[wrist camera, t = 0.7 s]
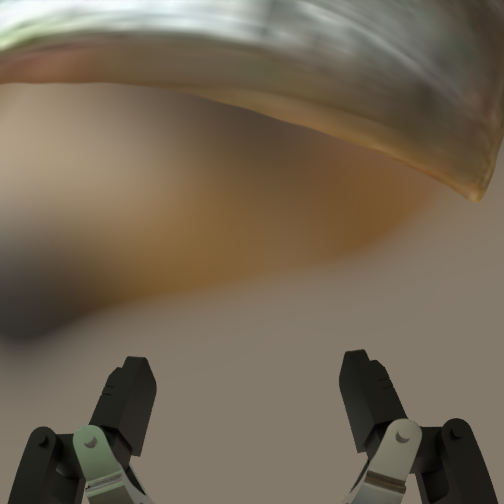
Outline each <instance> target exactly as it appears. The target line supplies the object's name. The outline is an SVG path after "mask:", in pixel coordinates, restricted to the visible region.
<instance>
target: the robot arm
mask: <svg viewBox="0 0 504 504" xmlns="http://www.w3.org/2000/svg"><path fill="white" fill-rule="evenodd" d="M389 378H390V377H389V375H388V373H387V371H386V369H385V367H383V365H381V364H380V363H379V362H378V361H377V360H372V361H370V360H369V358H368V356H367V353H366V352H365V350H364V349H361V350H355V351H347V352H345V355H344V359H343V363H342V367H341V371H340V376H339V387H340V391H341V394H342V398H343V401H344V405H345V408H346V412H347V415H348V419H349V423H350V426H351V430H352V434H353V437H354V441H355V445H356V449H357V452H358V453H361V452H367V456H368V459H367V460H366V462H365V464H364V466H363V468H362V470H361V472H360V473H359V475H358V477H357V479H356V481H355V482H354V484H353V486H352V487H351V489H350V491H349V493H348V494H347V496H346V497H345V498H344V500H343V501H342V503H341V504H400V503H401V501H402V499H403V497H404V494H405V491H406V486H405V482H406V479H407V477H408V474H411V473H413V474H414V473H415V475H416V479H417V483H418V487H419V491H420V496H421V500H422V504H498V501H497V498H496V495H495V491H494V488H493V485H492V482H491V479H490V476H489V473H488V470H487V467H486V465H485V462H484V459H483V457H482V454H481V451H480V449H479V446H478V444H477V441H476V439H475V437H474V435H473V432H472V430H471V427H470V426H469V424H468V423H467V422H466V421H464V420H462V419H458V418H454V419H451V420H448V421H447V422H446V423H445V424H444V425H443V427H421V426H419V425H418V424H417V423H416V422H414V421H412V420H409V419H408V418H407V416H406V414H405V411H404V409H403V407H402V405H401V402H400V400H399V397H398V395H397V393H396V391H395V388H393V384H392V382H391V380H390V379H389ZM156 387H157V386H156V381H155V378H154V376H153V373H152V371H151V369H150V366H149V363H148V361H147V359H146V358H145V357H133V356H128V357H127V358H126V360H125V363H124V365H123V367H122V368H120V367H117V368H116V369H115V370H114V371H113V372H112V373H111V374H110V375H109V377H108V379H107V382H106V384H105V387H104V389H103V391H102V395H101V396H100V398H99V401H98V403H97V405H96V408H95V410H94V413H93V415H92V418H91V420H90V423H89V424H88V425H86V426H83V427H81V428H79V429H78V430H77V431H76V432H75V434H55V433H54V432H53V430H51V429H50V428H48V427H38V428H37V429H35V430H34V431H33V432H32V433H31V435H30V437H29V440H28V442H27V445H26V448H25V450H24V453H23V456H22V459H21V461H20V465H19V467H18V470H17V473H16V477H15V480H14V483H13V486H12V490H11V493H10V497H9V501H8V504H81V502H82V498H83V493H84V488H85V483H86V481H87V484H88V488H86V489H85V492H86V496H87V498H88V500H89V503H90V504H155V503H154V502H153V501H152V499H151V498H150V497H149V496H148V494H147V492H146V490H145V489H144V487H143V485H142V483H141V482H140V480H139V478H138V476H137V475H136V473H135V471H134V469H133V467H132V466H131V464H130V462H129V461H130V457H131V455H133V456H139V457H140V455H141V451H142V447H143V443H144V438H145V434H146V430H147V427H148V423H149V419H150V415H151V411H152V407H153V403H154V400H155V396H156V390H157V389H156Z"/></svg>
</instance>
